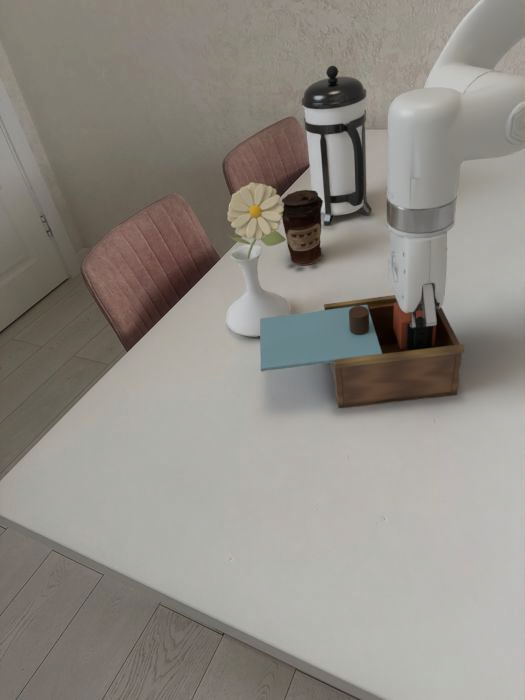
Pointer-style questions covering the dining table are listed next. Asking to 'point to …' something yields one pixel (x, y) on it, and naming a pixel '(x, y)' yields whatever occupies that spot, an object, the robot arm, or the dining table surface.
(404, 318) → the block
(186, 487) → the dining table surface
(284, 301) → the flower in vase
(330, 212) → the coffee press
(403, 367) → the wooden box
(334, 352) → the sliding box lid
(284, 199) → the coffee cup
